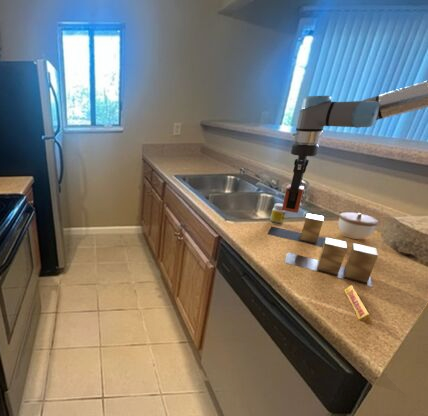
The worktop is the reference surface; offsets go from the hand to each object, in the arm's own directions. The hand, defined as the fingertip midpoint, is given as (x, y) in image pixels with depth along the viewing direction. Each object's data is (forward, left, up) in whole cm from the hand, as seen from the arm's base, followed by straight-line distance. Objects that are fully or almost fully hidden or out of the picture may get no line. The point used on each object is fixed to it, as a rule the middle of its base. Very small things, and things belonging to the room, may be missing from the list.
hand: (291, 205), depth 103 cm
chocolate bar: (-20, +36, -12) cm, 43 cm away
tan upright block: (-14, +20, -12) cm, 27 cm away
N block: (-20, +20, -12) cm, 31 cm away
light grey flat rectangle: (-13, +20, -12) cm, 27 cm away
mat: (-4, 0, -12) cm, 12 cm away
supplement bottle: (+4, -10, -12) cm, 16 cm away
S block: (0, 0, -1) cm, 1 cm away
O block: (-8, 0, -12) cm, 14 cm away
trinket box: (-21, -13, -12) cm, 27 cm away
